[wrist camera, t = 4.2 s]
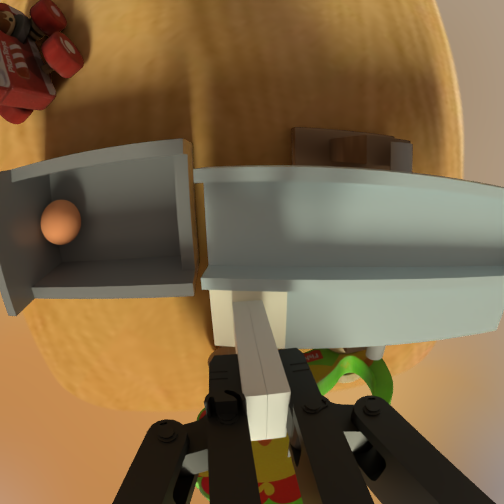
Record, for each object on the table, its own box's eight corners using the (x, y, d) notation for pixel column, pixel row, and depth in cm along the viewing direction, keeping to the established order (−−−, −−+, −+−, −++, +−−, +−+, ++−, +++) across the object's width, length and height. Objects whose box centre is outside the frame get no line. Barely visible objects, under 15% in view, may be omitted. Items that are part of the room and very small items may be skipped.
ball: (48, 199, 17) (30, 207, 14) (83, 194, 18) (69, 199, 15) (54, 240, 18) (38, 253, 15) (89, 235, 19) (76, 248, 16)
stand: (291, 128, 19) (322, 117, 13) (387, 136, 20) (439, 135, 14) (288, 318, 24) (309, 367, 18) (372, 307, 24) (408, 347, 18)
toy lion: (356, 308, 24) (455, 433, 10) (356, 353, 26) (430, 472, 12) (182, 350, 24) (166, 512, 9) (200, 391, 25) (200, 534, 11)
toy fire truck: (57, -3, 12) (0, -49, 2) (98, 85, 16) (17, 45, 6) (2, 47, 12) (-66, 25, 3) (34, 140, 16) (-58, 144, 7)
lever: (209, 138, 14) (192, 134, 11) (514, 167, 12) (545, 173, 9) (222, 349, 18) (213, 381, 15) (480, 335, 16) (499, 358, 13)
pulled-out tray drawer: (45, 165, 17) (-22, 176, 10) (192, 143, 18) (175, 134, 11) (60, 269, 20) (8, 315, 12) (199, 262, 21) (190, 318, 14)
